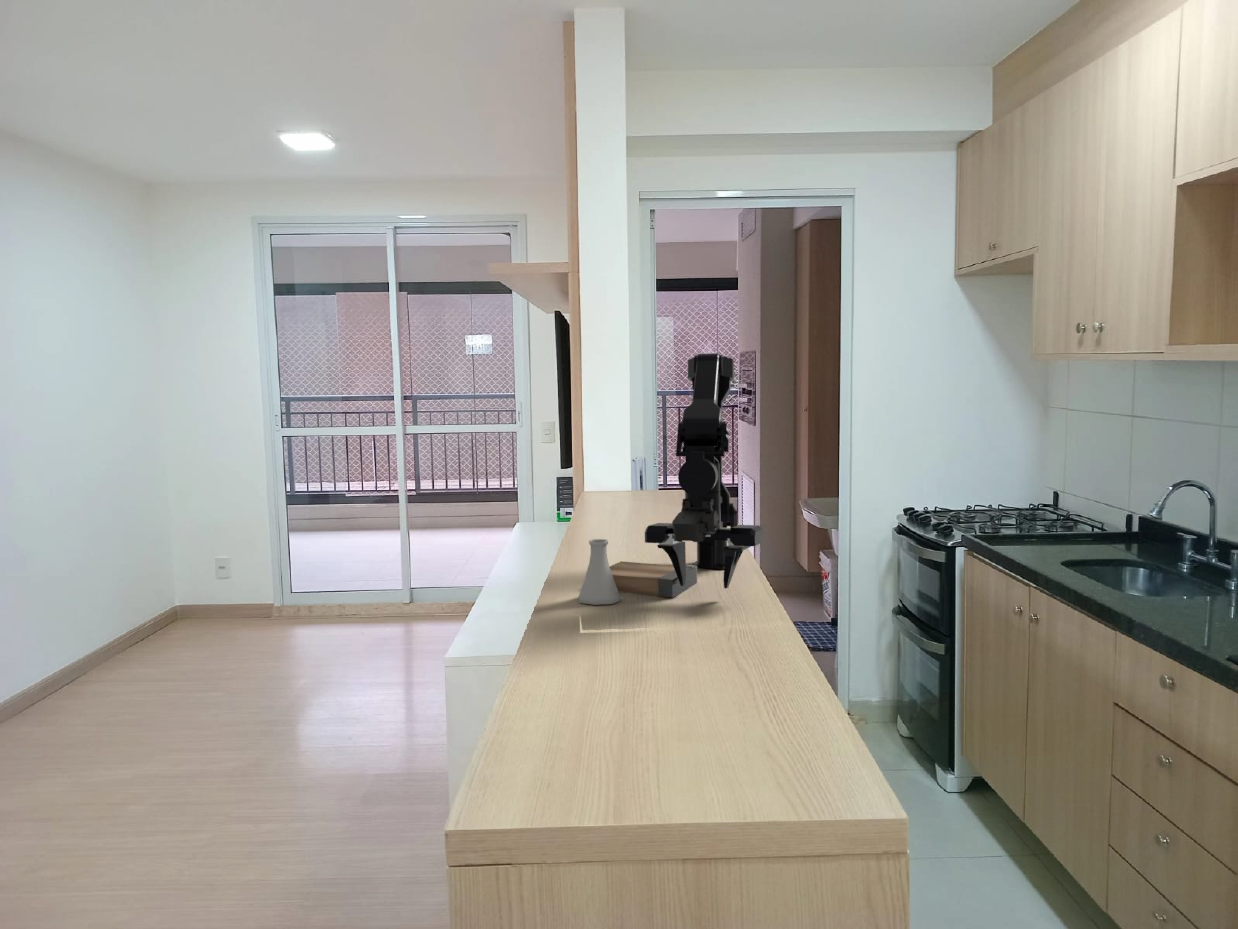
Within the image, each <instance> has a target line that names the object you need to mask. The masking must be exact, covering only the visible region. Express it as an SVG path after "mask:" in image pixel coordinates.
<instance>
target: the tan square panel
mask: <svg viewBox="0 0 1238 929" xmlns="http://www.w3.org/2000/svg"><path fill="white" fill-rule="evenodd" d="M609 567H610V570H611V573H612V576H613V579H614V582H615V584H616V587H617V590H618V592H619V593H629V594H635V595H636V594H637V595H644V596H654V597H660V596H659V589H658V578H660V577H662V576H664V575H666V574H668V573H670V572H672V571H674V570H675V569H674V566H673V564H672V565H671V564H660V563H659V564H658V563H647V562H646V563H645V562H634V561H619V562H617V563H615V564H612V565H609Z"/></svg>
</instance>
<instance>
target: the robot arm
mask: <svg viewBox="0 0 1238 929" xmlns="http://www.w3.org/2000/svg"><path fill="white" fill-rule="evenodd" d="M734 361H735V360H734V359H733V358H731V357H728V356H723V354H719V353H715V352H714V353H698V354H695V355H694V356H693V357H691V358H688V359H687V380H688V381H689V382H691V386H692V387H691V388H692V390H693V391H692V402H691V404H689V405H688V406H687V407H685V408H684V409H683V412H682V413H683V414H682V419H681V421H678V424H677V437H676V448H675V457H685V462H684V463H682V465H681V467H680V468H679V471H678V473H677V479H678V483H679V486H680V488H681V489H682V490H683V491H684V498H682V503H681V506H682V508H681V510H680V512H678V513H677V515H675V517H674V519H672V523H670V522H669V523H668V522H657V523H653V524H650V525H648V526H647V527H646V528H645V531H644V543H646V544H657V548H658V549H661V550H663V551H664V552H665V553H666V555H668V557H669V559H670V561H671V563H672V566H674V569H675V572H676V574H677V577H678V580H679V582H680V585H681V586H684V585H685V580H686V565H687V564H686V563H687V562H686V558H687V557H686V556H687V555H686V542H692V543H696V561H694V562H693V563H691V564H690V565H696V566H697V568H700V569H715V570H723V588H724V589H729V587H730V584H731V582H732V578H733V576H734V573H735V570H736V567H737V565H738V562H739V560H740V558H741V556H742V554H743V552H744V551H745V550H747V549H749V548H751V547H755V546H758V545H760V544H763V543H764V530H763V527H761V525H758V524H753V525H752V524H751V525H750V524H738V523H739V522H738V510H737V509H736V508H735V504H734V503H733V502H731V494H730V492H729V490H728V489H727V487H726V485H725V484H724V482H723V457H726V453H729V446H730V427H728V424H727V423H726V421H723V404H724V402H725V400H726V399H727V397H728V395H729V394H730V392H731V391H732V390H731V388H732V386H731V382H734V381H735V362H734ZM729 527H730V528H729Z"/></svg>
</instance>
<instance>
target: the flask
mask: <svg viewBox="0 0 1238 929" xmlns="http://www.w3.org/2000/svg"><path fill="white" fill-rule="evenodd" d="M588 543H589V544H588V545H589V546H590V555H589V556H590V557H589V562H588V566H587V569H586V573H585V575H584V579H583V582H582V585H581V588H580V591H579V594H578V596H577V600H578V603H579V604H585V605H593V606H599V605H614V604H616V603H617V602H620V601H621V600H622V598H621V596H620V592H618V590H617V587H616V584H615V582H614V579H613V576H612V573H611V570H610V565H609V558H608V554H607V552H608V551H607V545H608V544H609V540H608V539H605V538H592V539H590V540H588Z"/></svg>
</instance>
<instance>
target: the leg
mask: <svg viewBox="0 0 1238 929" xmlns="http://www.w3.org/2000/svg"><path fill="white" fill-rule="evenodd" d="M697 583H698V567H697V566H696V565H691V564H686V580H685V585H684V586H681V585H680V582H679V580H678V577H677V574H676V572H675V570H674V571H672V572H670V573H668V574H666V575H664V576H662V577H660V578H658V589H659V596H658V597H661V598H662V597H663V598H672V599H673V598H675V597H676V596H678V595H679V594H682V593H684V592H685V591H687V590H688V589H690V588H692V587H693V586H695V585H697Z"/></svg>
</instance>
